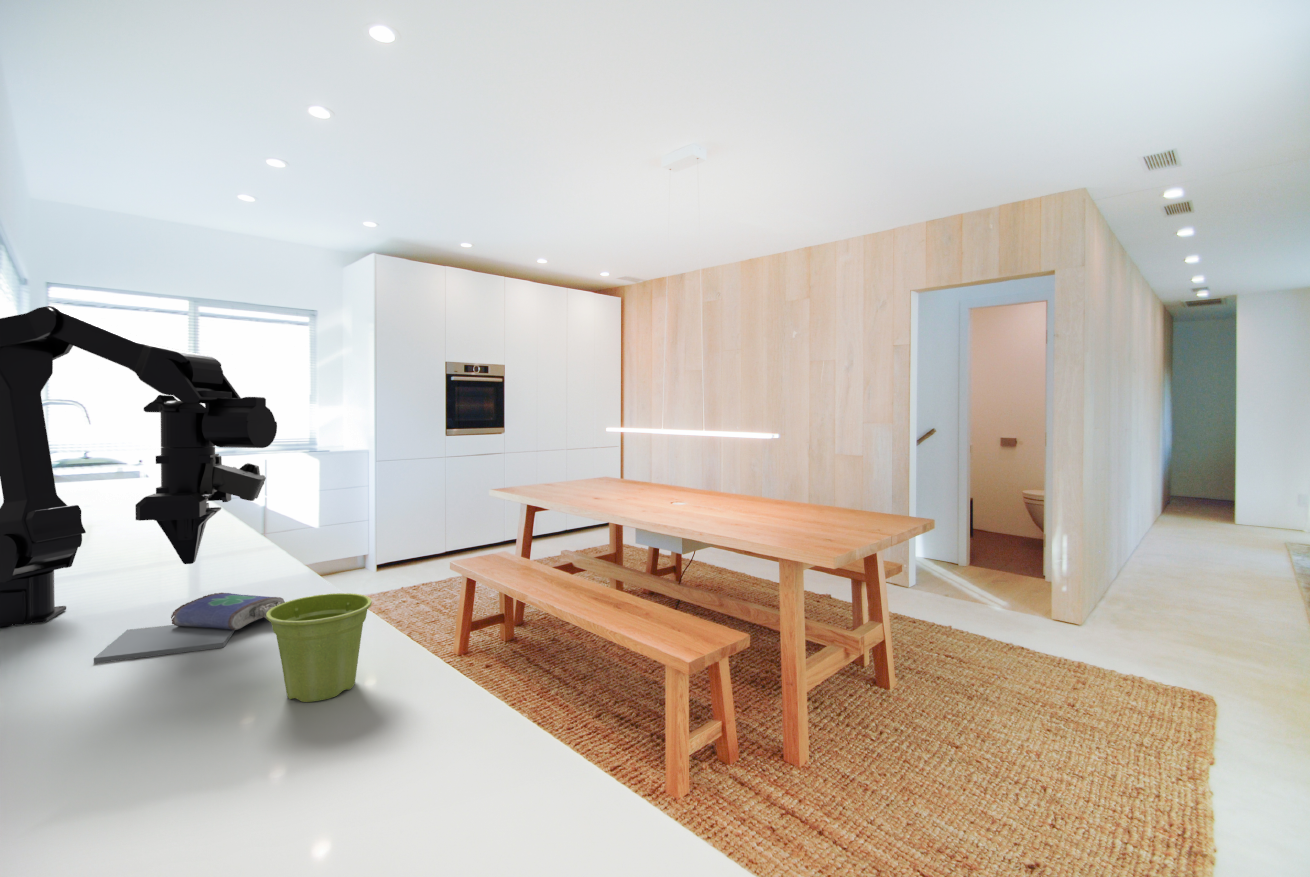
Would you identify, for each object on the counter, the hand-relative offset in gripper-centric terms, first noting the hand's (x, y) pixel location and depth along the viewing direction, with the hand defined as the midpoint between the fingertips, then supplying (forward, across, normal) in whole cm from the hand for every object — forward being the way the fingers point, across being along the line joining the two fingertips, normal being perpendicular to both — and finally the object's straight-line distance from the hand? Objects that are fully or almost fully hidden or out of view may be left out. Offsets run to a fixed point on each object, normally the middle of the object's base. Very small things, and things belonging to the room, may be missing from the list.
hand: (189, 563), depth 80 cm
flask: (+6, 0, -1) cm, 6 cm away
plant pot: (+8, -29, -18) cm, 35 cm away
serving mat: (+8, -7, 0) cm, 11 cm away
